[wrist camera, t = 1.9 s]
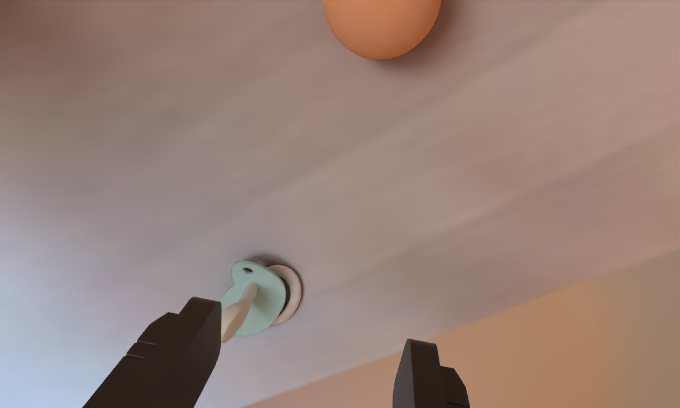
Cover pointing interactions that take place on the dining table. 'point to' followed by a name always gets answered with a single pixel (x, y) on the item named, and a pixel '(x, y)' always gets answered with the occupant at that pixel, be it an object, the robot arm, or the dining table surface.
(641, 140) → the dining table surface
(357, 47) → the ball
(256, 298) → the pacifier
